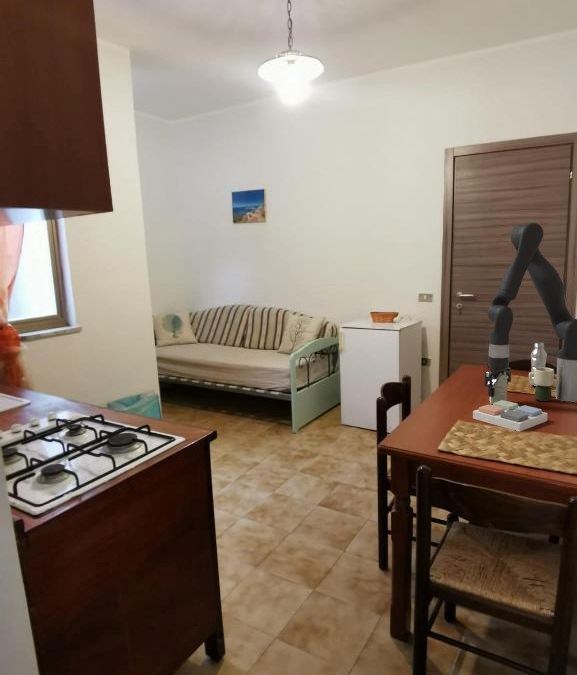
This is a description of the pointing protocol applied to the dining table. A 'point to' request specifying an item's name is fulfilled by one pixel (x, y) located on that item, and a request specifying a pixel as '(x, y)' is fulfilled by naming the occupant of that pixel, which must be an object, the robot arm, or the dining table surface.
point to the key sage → (506, 405)
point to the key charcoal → (514, 416)
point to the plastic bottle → (537, 359)
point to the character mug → (543, 382)
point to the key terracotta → (491, 410)
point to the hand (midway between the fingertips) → (497, 394)
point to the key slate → (529, 410)
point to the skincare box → (500, 390)
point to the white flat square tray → (508, 423)
